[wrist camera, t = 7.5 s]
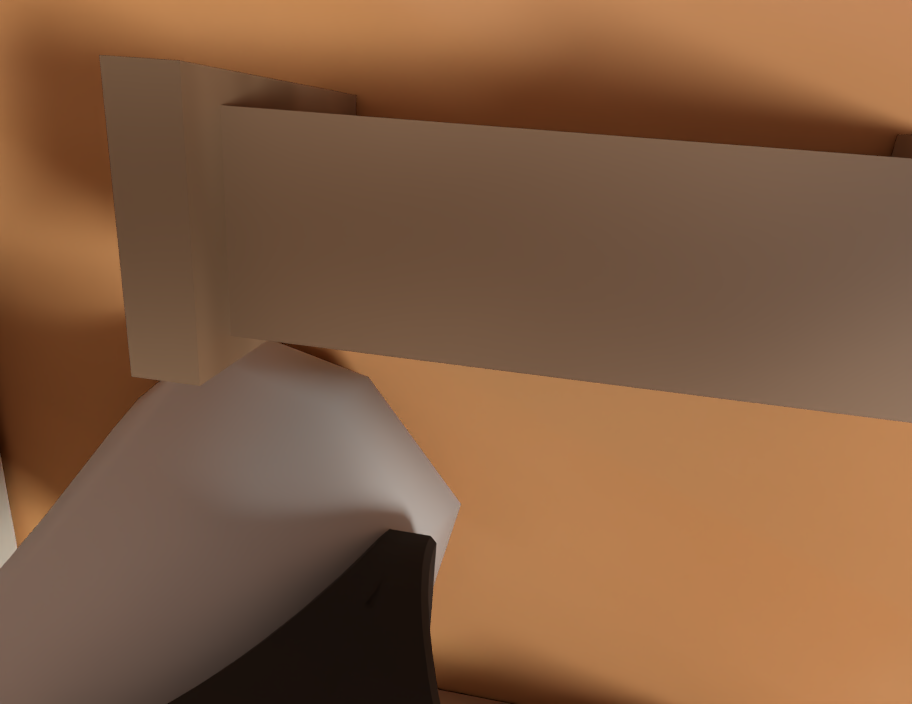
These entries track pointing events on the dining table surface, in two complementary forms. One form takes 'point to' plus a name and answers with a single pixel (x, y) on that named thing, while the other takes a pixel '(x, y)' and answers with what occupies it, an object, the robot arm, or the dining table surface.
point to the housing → (502, 247)
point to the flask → (208, 529)
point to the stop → (5, 523)
